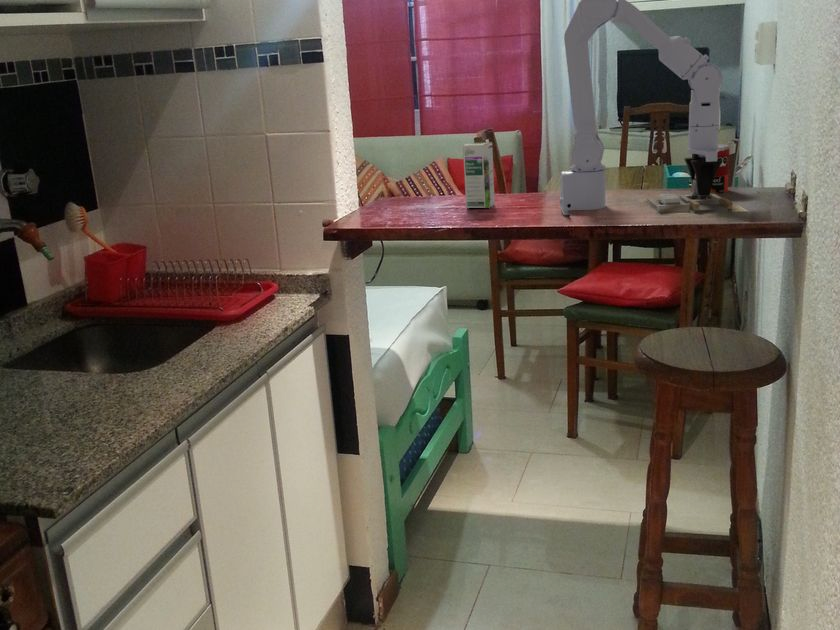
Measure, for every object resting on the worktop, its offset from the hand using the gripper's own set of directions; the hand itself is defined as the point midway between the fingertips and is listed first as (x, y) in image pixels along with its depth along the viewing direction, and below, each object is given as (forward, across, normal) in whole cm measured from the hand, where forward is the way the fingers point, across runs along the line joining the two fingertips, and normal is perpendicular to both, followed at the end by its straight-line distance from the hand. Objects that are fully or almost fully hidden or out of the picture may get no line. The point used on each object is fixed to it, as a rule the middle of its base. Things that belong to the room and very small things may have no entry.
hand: (701, 193), depth 168 cm
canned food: (+3, +16, -6) cm, 17 cm away
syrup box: (+3, +16, +46) cm, 49 cm away
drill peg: (+2, 0, 0) cm, 2 cm away
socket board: (+3, -2, +2) cm, 4 cm away
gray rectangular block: (+2, -3, +7) cm, 8 cm away
